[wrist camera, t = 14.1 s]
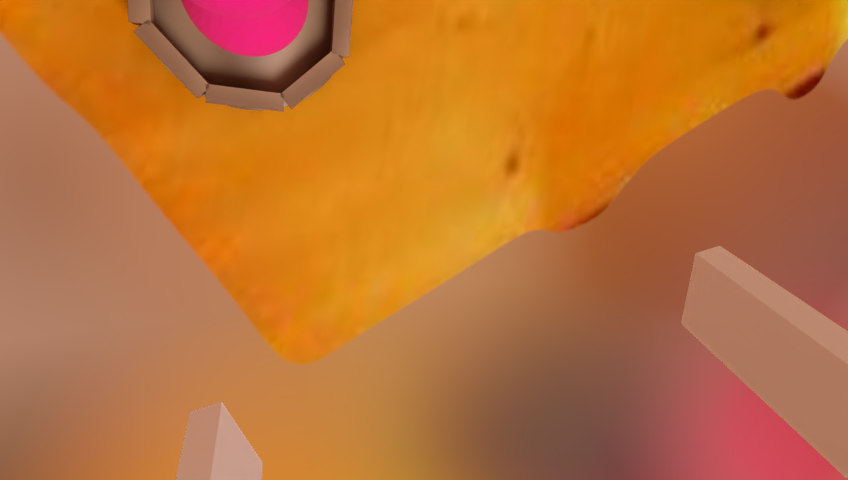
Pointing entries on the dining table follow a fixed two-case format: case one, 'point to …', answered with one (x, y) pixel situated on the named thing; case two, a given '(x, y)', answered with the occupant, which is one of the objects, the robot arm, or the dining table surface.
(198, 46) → the bowl
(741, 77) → the dining table surface
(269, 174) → the dining table surface
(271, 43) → the pepper mill
